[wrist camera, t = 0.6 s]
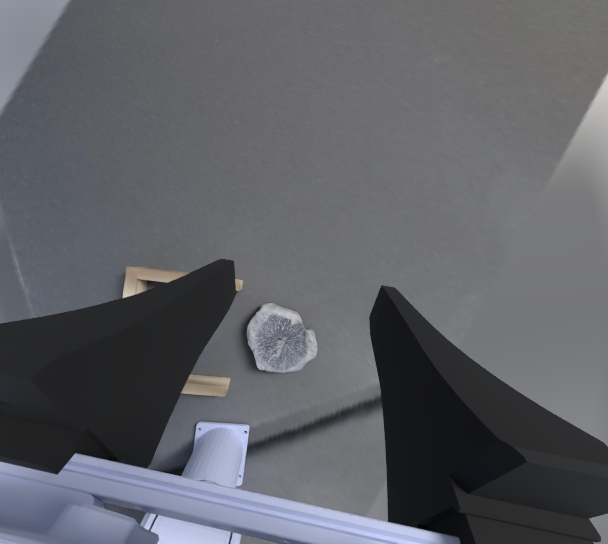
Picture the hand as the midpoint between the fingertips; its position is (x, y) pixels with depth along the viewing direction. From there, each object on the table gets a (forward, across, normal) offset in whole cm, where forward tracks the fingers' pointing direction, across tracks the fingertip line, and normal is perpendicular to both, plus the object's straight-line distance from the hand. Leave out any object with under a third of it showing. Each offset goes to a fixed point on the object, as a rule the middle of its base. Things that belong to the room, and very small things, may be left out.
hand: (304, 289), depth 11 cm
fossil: (+15, +3, +22) cm, 27 cm away
